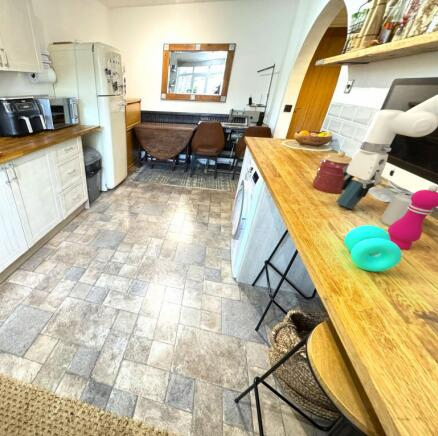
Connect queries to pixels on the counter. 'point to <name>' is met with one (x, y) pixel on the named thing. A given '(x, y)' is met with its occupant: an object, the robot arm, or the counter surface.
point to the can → (397, 207)
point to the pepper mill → (413, 218)
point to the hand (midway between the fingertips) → (352, 192)
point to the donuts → (372, 248)
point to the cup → (350, 195)
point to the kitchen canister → (331, 173)
